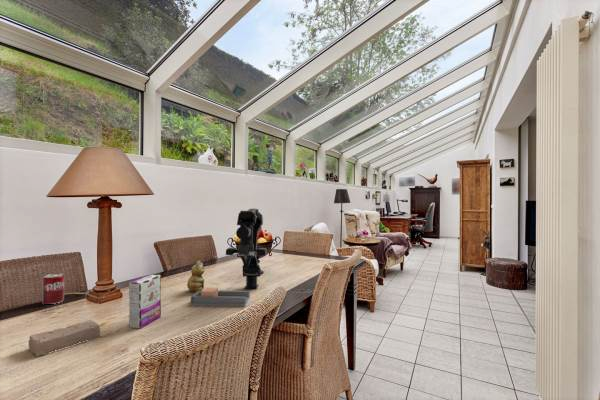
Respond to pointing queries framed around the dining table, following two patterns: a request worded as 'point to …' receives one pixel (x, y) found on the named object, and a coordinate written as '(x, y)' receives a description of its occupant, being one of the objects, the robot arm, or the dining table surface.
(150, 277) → the candy bar box
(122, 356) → the dining table surface
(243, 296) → the grey tray
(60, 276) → the soda can
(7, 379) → the dining table surface
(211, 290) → the block
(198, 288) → the decorative figurine
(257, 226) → the robot arm
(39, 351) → the brick
